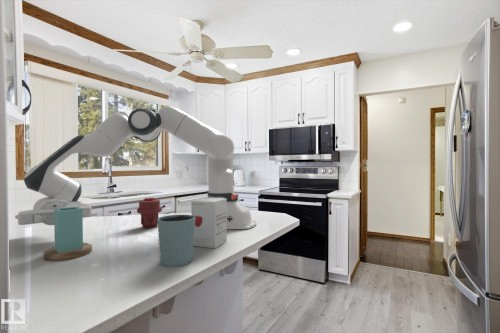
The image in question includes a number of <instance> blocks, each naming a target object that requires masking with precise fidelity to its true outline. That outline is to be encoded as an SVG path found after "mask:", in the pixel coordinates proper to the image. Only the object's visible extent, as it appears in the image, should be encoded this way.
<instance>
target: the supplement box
mask: <svg viewBox="0 0 500 333" xmlns="http://www.w3.org/2000/svg"><path fill="white" fill-rule="evenodd" d="M207 197H208V196H205V197H200V198H197V199H192V200H191V206H190V208H191V215H192V216H195V228H194V246H193V247H201V248H206V249H207V248H208V249H217V248H218V247H219V246H221V245H223V244H224V243H226V242H227V237H228V236H227V235H228V234H227V230H228V229H227V199H226V198H207Z"/></svg>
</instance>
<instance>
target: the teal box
mask: <svg viewBox="0 0 500 333" xmlns="http://www.w3.org/2000/svg"><path fill="white" fill-rule="evenodd" d="M83 222H84V221H83V214H82V208H79V207H70V208H60V209H54V225H53V226H54V247H55V250H56V251H57V252H58V253H64V252H69V251H74V250H79V249H83V243H84V237H83V236H84V232H83V230H84V228H83V226H84V225H83Z"/></svg>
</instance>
